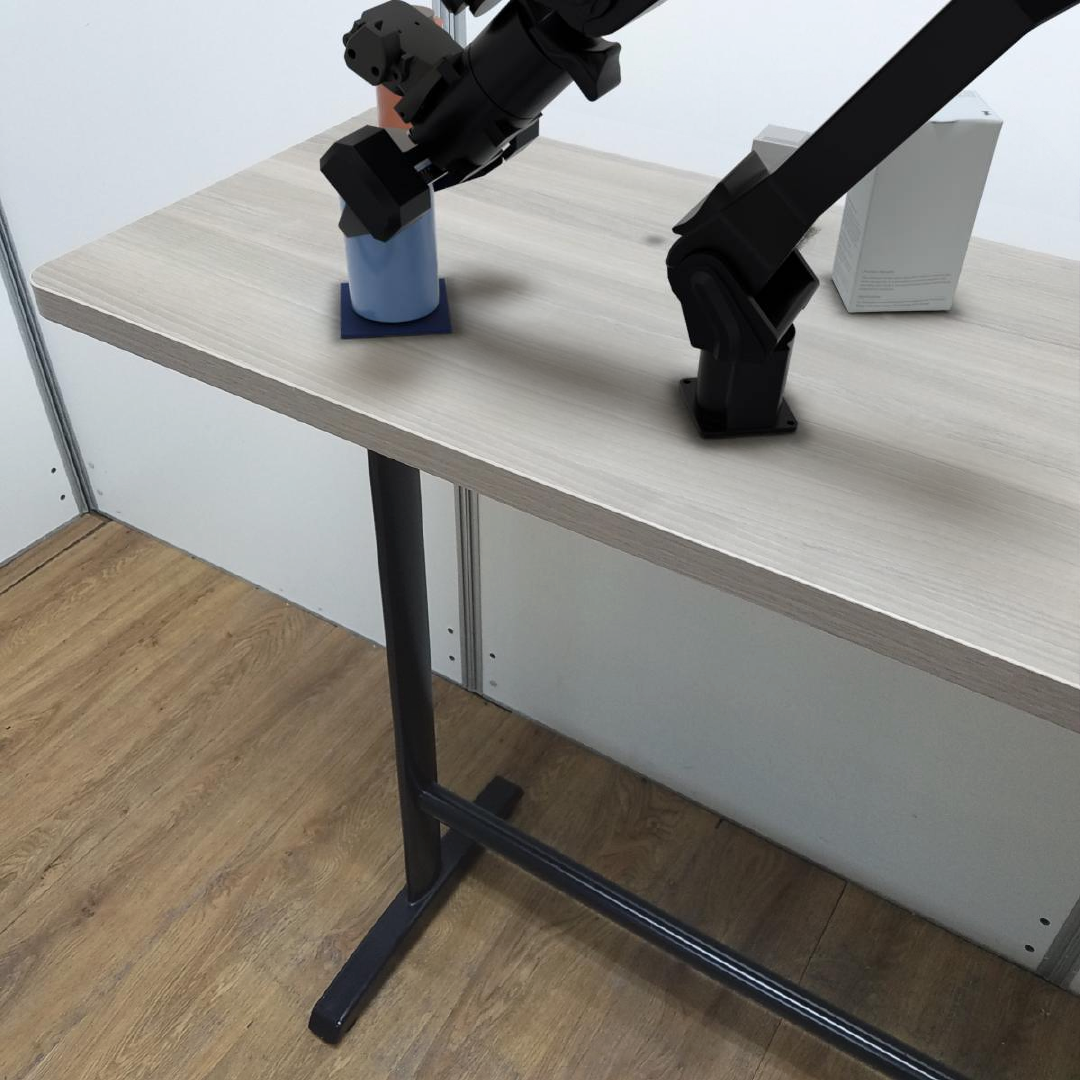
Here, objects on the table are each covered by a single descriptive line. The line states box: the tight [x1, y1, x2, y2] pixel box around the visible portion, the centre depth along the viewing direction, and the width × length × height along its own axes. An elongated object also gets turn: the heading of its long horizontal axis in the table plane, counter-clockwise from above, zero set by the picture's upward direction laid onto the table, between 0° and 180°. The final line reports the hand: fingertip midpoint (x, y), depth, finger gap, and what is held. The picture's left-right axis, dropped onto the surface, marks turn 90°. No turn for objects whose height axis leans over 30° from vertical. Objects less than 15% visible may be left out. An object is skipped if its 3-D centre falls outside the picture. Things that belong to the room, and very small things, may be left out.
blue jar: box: [338, 127, 440, 323], centre depth 77 cm, size 7×7×12 cm
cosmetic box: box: [831, 89, 1005, 313], centre depth 79 cm, size 8×6×15 cm
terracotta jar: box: [374, 4, 444, 130], centre depth 102 cm, size 7×7×12 cm
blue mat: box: [340, 277, 453, 340], centre depth 81 cm, size 8×8×1 cm
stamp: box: [750, 123, 813, 168], centre depth 90 cm, size 9×7×8 cm
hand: (373, 212), depth 77 cm, fingers closed on blue jar, 6 cm apart
